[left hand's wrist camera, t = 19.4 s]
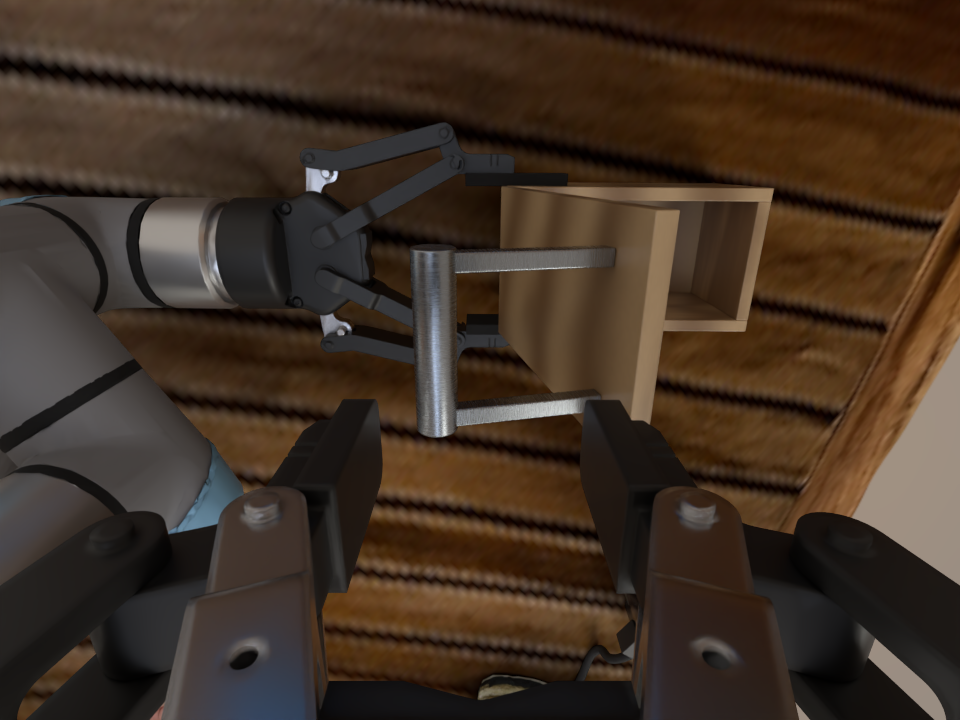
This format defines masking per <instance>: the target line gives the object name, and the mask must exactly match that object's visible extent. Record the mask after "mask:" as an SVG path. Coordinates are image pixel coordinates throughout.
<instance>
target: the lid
mask: <svg viewBox="0 0 960 720" xmlns="http://www.w3.org/2000/svg"><path fill="white" fill-rule="evenodd" d="M679 214H680V210H678V209H671V208H664V207H657V206H650V205H642V204H635V203H628V202H621V201H614V200H606V199H599V198H592V197H585V196H578V195H571V194H563V193H556V192H549V191H542V190H535V189H528V188H520V187H501V233H500V248H499V249H466V250H456V248H455V247H454V246H451V245H444V244H423V245H416V246H413V247H411V248H410V268H411V292H412V316H413V341H414V365H415V389H416V413H417V429H418V431H419V432H420V433H421V434H422V435H425V436H428V437H445V436H448V435H451V434H453V433H454V432H455V431H456V430H457V428H458V426H464V425H473V424H483V423H492V422H501V421H510V420H520V419H529V418H538V417H547V416H557V415H566V414H572V415H573V416H574V417H575V418H576V419H577V420H578V421H579V423H580V424H581V425H582V426H583V417H584V407H585V403H586V400H620V401H621V403H622V405H623V406H624V408H625V410H626V411H627V413H628V415H629V416H630V418H631V420H643V421H645V422H646V423H648V424H649V425H650V420H651V413H652V406H653V399H654V392H655V385H656V378H657V370H658V363H659V356H660V349H661V342H662V335H663V328H664V321H665V314H666V306H667V299H668V292H669V285H670V278H671V271H672V264H673V257H674V250H675V242H676V235H677V228H678V221H679ZM484 272H500V281H499V329H498V332H499V333H500V335H501V336H502V337H503V338H504V339H505V340H506V341H507V342H508V343H509V345H510V346H511V347H512V348H513V349H514V350H515V351H516V352H517V353H518V355H519V356H520V357H521V358H522V359H523V360H524V361H525V362H526V364H527V365H528V366H529V367H530V368H531V369H532V370H533V371H534V372H535V374H536V375H537V376H538V377H539V378H540V379H541V380H542V381H543V382H544V384H545V385H546V386H547V387H548V388H549V389H550V390H551V391H552V392H553V393H546V394H536V395H525V396H515V397H505V398H495V399H484V400H474V401H464V402H458V397H457V291H456V274H459V273H484Z"/></svg>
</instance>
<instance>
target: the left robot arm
mask: <svg viewBox="0 0 960 720" xmlns="http://www.w3.org/2000/svg"><path fill="white" fill-rule="evenodd" d="M580 475H581V482H582V486H583V489H584V493H585V496H586V499H587V502H588V505H589V508H590V511H591V514H592V518H593V521H594V524H595V527H596V530H597V533H598V536H599V540H600V543H601V546H602V549H603V552H604V555H605V558H606V562H607V565H608V568H609V571H610V574H611V577H612V580H613V583H614V587H615V590H616V593H617V594H625V597H626V600H627V601H626V603H625V608H626V611H627V614H628V617H629V620H630V622H629V623H628V624H627V625H626V626H624V627H623V628H622V629H621V630H620V631H619V632H618V633H617V638H618V641H619V645H620V648H621V652H622V653H619V654H610V653H609V652H608V650H607V649H606V648H605V647H604V646H602V645H596V646H594V647H593V648H592V649H591V650H590V651H589V652H588V654H587V656H586V658H585V660H584V662H583V664H582V666H581V668H580V671H579V673H578V676H577V678H576V680H575V681H555V682H551V683H547V684H543V685H540V686H536V687H532V688H528V689H524V690H521V691H517V692H513V693H509V694H505V695H501V696H498V697H494V698H490V699H485V700H475V699H470V698H466V697H462V696H459V695H455V694H451V693H447V692H443V691H439V690H436V689H432V688H428V687H424V686H420V685H417V684H413V683H409V682H405V681H329V679H328V667H327V655H326V644H325V632H324V621H323V614H322V608H323V605H324V602H325V600H326V597H327V594H328V593H347V590H348V587H349V584H350V581H351V577H352V574H353V571H354V568H355V565H356V561H357V558H358V555H359V552H360V549H361V545H362V542H363V539H364V536H365V533H366V529H367V526H368V523H369V520H370V516H371V513H372V510H373V507H374V504H375V500H376V497H377V494H378V491H379V488H380V484H381V479H382V447H381V434H380V421H379V409H378V403H377V401H376V399H344V400H343V401H342V402H341V404H340V406H339V407H338V409H337V411H336V412H335V414H334V416H333V418H332V419H331V420H319V421H317V422H316V423H314V424H313V425H311V426H310V427H308V428H307V429H305V430H304V431H303V432H302V434H301V435H300V437H299V438H298V440H297V441H296V443H295V446H293V447H292V449H291V450H290V452H289V453H288V457H286V458H285V459H284V461H283V462H282V464H281V465H280V467H279V468H278V470H277V471H276V473H275V474H274V476H273V477H272V479H271V480H270V482H269V483H268V485H267V486H266V487H265V488H260V489H256V490H253V491H250V492H248V493H246V494H243V495H241V496H239V497H238V498H236V499H235V500H233V501H232V502H230V503H229V504H228V505H227V506H226V507H225V508H224V509H223V511H222V512H221V514H220V517H219V520H218V524H215V525H211V526H207V527H202V528H197V529H192V530H187V531H182V532H177V533H172V534H168V530H167V526H166V523H165V520H164V518H163V517H162V516H161V515H159V514H157V513H154V512H150V511H132V512H126V513H121V514H117V515H114V516H111V517H108V518H105V519H102V520H100V521H98V522H95V523H94V524H92V525H90V526H88V527H86V528H84V529H83V530H81V531H80V532H78V533H77V534H75V535H74V536H72V537H71V538H69V539H68V540H66V541H65V542H63V543H62V544H60V545H59V546H58V547H56V548H55V549H53V550H52V551H50V552H49V553H47V554H46V555H44V556H43V557H41V558H40V559H38V560H37V561H36V562H34V563H33V564H31V565H30V566H28V567H27V568H25V569H24V570H22V571H21V572H19V573H18V574H16V575H15V576H13V577H12V578H11V579H9V580H8V581H6V582H5V583H3V584H2V585H0V720H17V714H18V710H19V707H20V704H21V702H22V700H23V698H24V697H25V695H26V693H27V692H28V691H29V689H30V688H31V687H32V685H33V684H34V683H35V682H36V681H37V680H38V679H39V678H40V677H41V676H43V675H44V674H45V673H46V672H47V671H48V670H49V669H50V668H52V667H53V666H54V665H55V664H56V663H57V662H58V661H59V660H61V659H62V658H63V657H64V656H65V655H66V654H67V653H68V652H70V651H71V650H72V649H73V648H74V647H75V646H76V645H78V644H79V643H80V642H81V641H82V640H83V639H84V638H85V637H87V636H88V635H90V638H91V641H92V644H93V646H94V649H95V652H96V655H94V656H93V657H92V658H91V659H90V660H89V661H88V662H87V663H86V664H85V665H84V666H83V667H82V668H81V669H79V670H78V671H77V672H76V673H75V674H74V675H73V676H72V677H71V678H70V679H69V680H68V681H67V682H66V683H65V684H63V685H62V686H61V687H60V688H59V689H58V690H57V691H56V692H55V693H54V694H53V695H52V696H51V697H50V698H49V699H47V700H46V701H45V702H44V703H43V704H42V705H41V706H40V707H39V708H38V709H37V710H36V711H35V712H34V713H32V714H31V715H30V716H29V717H28V718H27V719H26V720H150V719H151V718H152V716H153V715H154V714H155V713H156V712H157V711H158V709H159V708H160V707H161V706H162V705H163V703H164V702H165V704H164V708H163V713H162V717H161V720H799V717H798V713H797V708H796V704H795V702H796V703H797V705H798V706H799V707H800V708H801V709H802V711H803V712H804V713H805V714H806V715H807V716H808V718H809V719H810V720H934V719H933V718H932V717H931V716H930V715H929V714H927V713H926V712H925V711H924V710H923V709H922V708H921V707H920V706H919V705H918V704H917V703H916V702H915V701H914V700H913V699H911V698H910V697H909V696H908V695H907V694H906V693H905V692H904V691H903V690H902V689H901V688H900V687H899V686H898V685H897V684H895V683H894V682H893V681H892V680H891V679H890V678H889V677H888V676H887V675H886V674H885V673H884V672H883V671H881V669H879V668H878V667H877V666H876V665H875V664H874V663H873V662H872V661H871V660H870V659H869V658H868V656H869V653H870V651H871V648H872V645H873V642H874V640H875V638H876V639H877V640H878V641H879V642H880V643H881V644H883V645H884V646H885V647H886V648H887V649H888V650H889V651H890V652H892V653H893V654H894V655H895V656H896V657H897V658H898V659H899V660H901V661H902V662H903V663H904V664H905V665H906V666H907V667H908V668H910V669H911V670H912V671H913V672H914V673H915V674H916V675H917V676H919V677H920V678H921V679H922V680H923V681H924V682H925V683H926V684H927V685H928V686H929V687H930V688H931V689H932V690H933V692H934V693H935V694H936V696H937V697H938V699H939V701H940V702H941V704H942V707H943V709H944V712H945V715H946V720H960V585H958V584H957V583H955V582H954V581H952V580H951V579H949V578H948V577H946V576H945V575H944V574H942V573H941V572H939V571H938V570H936V569H935V568H933V567H932V566H930V565H929V564H927V563H926V562H925V561H923V560H922V559H920V558H919V557H917V556H916V555H914V554H913V553H911V552H910V551H908V550H907V549H905V548H904V547H902V546H901V545H899V544H898V543H897V542H895V541H894V540H892V539H891V538H889V537H888V536H886V535H885V534H883V533H882V532H880V531H879V530H877V529H875V528H874V527H871V526H870V525H868V524H866V523H863V522H861V521H859V520H856V519H853V518H850V517H847V516H843V515H839V514H834V513H826V512H815V513H809V514H805V515H803V516H802V517H800V518H799V519H798V521H797V524H796V528H795V531H794V535H793V534H788V533H783V532H778V531H773V530H768V529H763V528H758V527H754V526H750V525H747V524H744V523H742V520H741V517H740V514H739V512H738V511H737V509H736V508H735V507H734V506H733V505H732V504H731V503H730V502H728V501H727V500H725V499H724V498H722V497H721V496H719V495H717V494H714V493H712V492H710V491H707V490H704V489H700V488H697V486H696V485H695V483H694V482H693V480H692V479H691V477H690V476H689V474H688V473H687V471H686V470H685V468H684V467H683V465H682V464H681V462H680V461H679V459H678V458H676V457H675V453H674V452H673V450H672V449H671V448H670V447H668V443H667V442H666V440H665V439H664V437H663V436H662V434H661V433H660V431H658V430H657V429H655V428H654V427H652V426H651V425H649V424H648V423H646V422H645V421H643V420H631V418H630V416H629V415H628V413H627V411H626V410H625V408H624V406H623V405H622V403H621V401H620V400H586V403H585V407H584V417H583V429H582V442H581V454H580ZM598 654H601V656H602V657H603V658H604V659H605V660H606V661H607V662H609V663H613V664H616V663H622V662H626V661H628V660H631V659H633V667H632V679H631V681H584V680H585V678H586V675H587V673H588V670H589V668H590V665H591V663H592V661H593V659H594V657H595V656H597V655H598Z"/></svg>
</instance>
